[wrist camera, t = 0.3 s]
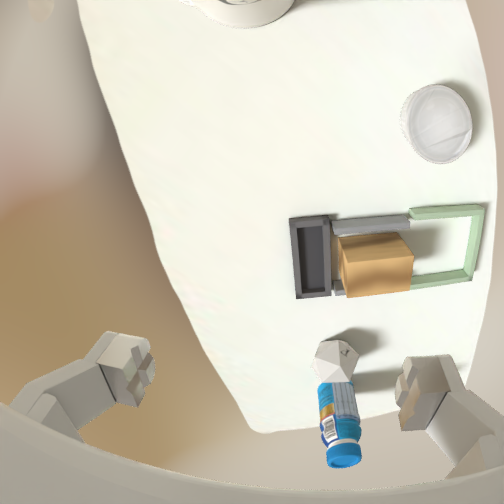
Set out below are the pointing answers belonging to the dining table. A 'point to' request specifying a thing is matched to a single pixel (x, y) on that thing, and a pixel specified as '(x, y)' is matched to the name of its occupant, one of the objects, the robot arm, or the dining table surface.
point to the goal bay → (472, 247)
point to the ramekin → (436, 123)
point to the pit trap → (311, 256)
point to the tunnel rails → (366, 226)
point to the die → (334, 361)
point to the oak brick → (374, 264)
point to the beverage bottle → (339, 423)
